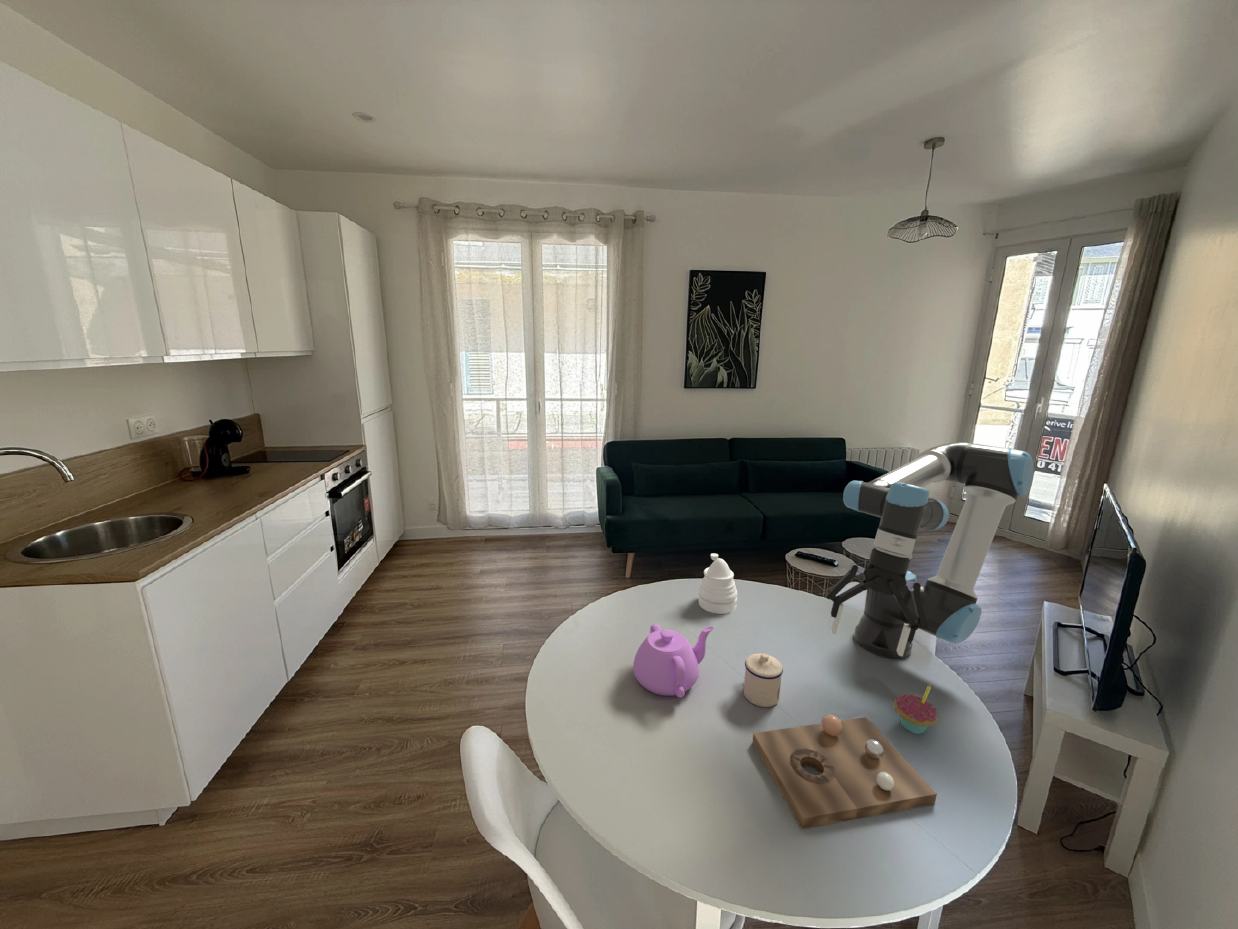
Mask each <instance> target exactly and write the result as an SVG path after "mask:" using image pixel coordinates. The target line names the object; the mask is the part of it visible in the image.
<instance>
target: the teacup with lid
mask: <svg viewBox="0 0 1238 929" xmlns="http://www.w3.org/2000/svg"><path fill="white" fill-rule="evenodd" d="M744 666H745V668H744V684H743V695H744V696H745V699H747V701H749V702H750V703H752V704H753V705H755V706H757V707H761V708H770V707H771V708H772V707H774V706H776V705H777V704H778V703H779V701H780V694H781V693H780V692H781V685H782V684H781V683H782V676H783V675H782V674H783V673H784V668H783V665H782V663H781V661H780V660H778V659H777V658H776V657H774V656H772V655H770V654H767V653H753V654H749V656H747V657H746V659H745V661H744Z"/></svg>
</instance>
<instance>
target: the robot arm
mask: <svg viewBox="0 0 1238 929" xmlns="http://www.w3.org/2000/svg"><path fill="white" fill-rule="evenodd" d="M1034 472H1035V471H1034V459H1033V458H1032V456H1031V454H1030V453H1029V452H1027V451H1024V450H1020V449H1014V448H1012V447H1008V448H1007V447H1001V446H993V445H988V444H979V443H973V442H967V441H966V442H965V441H963V442H962V441H961V442H950V443H945V444H941V445H936V446H933V447H930V448H928V449H926V450H924V451H922V452H920V453H918V454H917V455H916V457H915V458H914V460H911V461H909V462H907V463H905V464H903V465H901V466H899V467H897V468H896V469H893V470H891V471H889V472H887V473H885V474H883V475H881V476H879V477H877V478H875V479H873V480H870V481H868V482H866V481H865V482H864V481H863V480H852V481H850V482H848V484H847V485H846V486H845V487H844V490H843V497H842V501H843V504H844V505H845V507H846V508H849V509H852V510H854V511H857V512H858V513H864V514H867V515H870V516H873V517H877V518H880V521H879V525H878V528H877V531H876V534H875V539H874V541H873V546H875V547H873V548H872V549H871V552H870V554H869V555H870V556H869V560H868V563H867V565H866V567H862V566H860V565H857V563H856V562H854V563H853V562H852V563H851V564H850V567H849V569H848V571H847V572H846V573H845V574H844V575H843V576H842V577H841V578H840V579H839V580H838V581H837V582H836V583H835V584H834V585H833V586H832V587H831V588H830V589H829V590H828V591H827V592H826V596H827V599H828V600H831V602H833V603H832V606H831V611H830V616H831V617H832V618H834V620H833V622H832V626H831V634H834V635H837V631H838V628H839V624H840V620H841V617H842V614H843V610H844V605H843V603H844V602H846V601H849V600H850V599H852V598H854V597H856V596H857V595H858V594H861V593H862V592H864V591H866V596H865V601H864V602H865V603H864V608H863V609H864V610H863V615H862V616H861V617H860V620H859V622H858V624H857V625H855V628H854V634H853V639H854V641H855V642H856V644H858V645H859V646H860V647H861V648H862V649H863V650H865V651H867V652H869V653H871V654H873V655H877V656H878V657H883V658H886V659H887V658H888V659H905V658H907V657H908V656H910V655H911V653H912V649H913V642H914V637H915V635H916V631H918V630H921V631H923V632H926V633H928V634H929V635H933V636H934V637H935V638H938V639H941V640H944V641H947V642H949V643H952V644H960V643H963V642H964V641H966V640H967V639H968V638H969V637H970V636H971V635H972V633H974V631H975V629H976V628H977V626H978V624H979V622H980V620H981V616H982V612H983V611H982V608H981V607H980V606H979V604H977V602H978V596H977V594H976V592H975V591H974V589H975V586H976V584H977V580H978V578H979V577H980V574H981V573H980V572H981V571H982V568H983V566H984V563H985V560H986V557H987V555H988V553H989V550H990V547H991V545H992V543H993V540H994V537H995V535H996V532H997V529H998V527H999V524H1000V522H1001V519H1002V516H1003V514H1004V512H1005V510H1006V507H1008V506H1010V505H1012V504H1014V503H1016V501H1017V498H1018V496H1019V497H1025V496H1028V494H1029V492H1030V491H1031V489H1032V486H1033V485H1032V484H1033V480H1034ZM944 481H948V482H954V483H960V484H962V485H963V487H962V488H963V490H964V492H965V494H966V495H967V496H966V498H965V501H964V504H963V507H962V509H961V511H960V514H959V516H958V519H957V521H956V524H955V526H954V529H953V531H952V535H950V540H949V542H948V545H947V547H946V549H945V551H944V555H943V557H942V559H941V562H940V565H939V567H938V570H937V572H936V574H935V575H934V576H933V577H930V578H927V580H926V582H925V584H922V583H920V582H918V581H917V580H918V578H917V576H916V574H915V573H913V572H911V571H910V570H908V568H909V565H910V562H911V560H910V558H909V557H911V556H912V555H913V551H914V548H915V543H916V540H917V538H918V534H919V531H920V530H923V531H927V532H928V531H936V530H939V529H941V528H943V527H944V526H945V525H946V524H947V522H948V521H949V517H950V513H949V510H948V507H947V506H946V505H945V504H944V502H942V501H940V500H939V499H937V498H935V497H930V491H929V489H928V488H926V486H928V485H930V484H932V483H933V484H935V483H940V482H944ZM860 574H863V576H864V579H863V580H862V581H860V582H859V583H858V584H856V585H854V586H852V587H851V588H849V589H847V590H845V591H843V592H842V593H840V592H841V591H842V590H843V589H844V588H845V587H846V586H847V585H848V584H849V583H850V582H851V581H852V580H853V579H854V578H855V577H856V576H859V575H860Z"/></svg>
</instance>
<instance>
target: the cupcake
mask: <svg viewBox="0 0 1238 929" xmlns="http://www.w3.org/2000/svg"><path fill="white" fill-rule="evenodd" d="M931 686H932V683H930V684H929V685H927V687H926V689H925V691H924V694H923V696H920V695H917V694H911V693H910V694H909V693H904V694H899V695H898V696H897V697H895V700H894V701H893V707H894V710H895V711H896V712H897V713H898V715H899V717H900V723H901V725H902V727H903V728H904V729H906V730H907V731H909V732H910V733H913V734H924V732H925V731H926V730H927V728H928V727H929V726H934V725H935V724H936V723H937V721H938V711H937V709H936V707H935V706H934V705H933V704H932V703H931V701H929V700H927V698H928V697H929V694H930V691H931V688H932V687H931Z"/></svg>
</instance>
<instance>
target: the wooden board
mask: <svg viewBox="0 0 1238 929" xmlns="http://www.w3.org/2000/svg"><path fill="white" fill-rule="evenodd" d="M840 721H841V723H842V726H843V729H842V732H841V734H839V735H838V736H830V735H828V734H827V733H826V732H825V731H824V729H823V727H822V722H821V723H815V724H809V725H801V726H794V727H789V728H788V727H787V728H781V729H775V730H767V731H766V730H765V731H759V732H753V735H752V744H753V746H754V748H755V750H756V752H757V753H758V755H759V757H760V758H761V761H762V762H763V764H764V765H765V767H766V769H767V771H768V773H769V774H770V776H771V777H772V780H773V781H774V782H775V785H776V786H777V788H778V790H779V791H780V793H781V795H782V797H783V798H784V800H785V802H786V804H787V806H788V808H789V809H790V811H791V812H792V816H794V819H795V820H796V822H797V823H798V825H799V827H800V828H801V830H805V829H812V828H815V827H822V826H827V825H833V824H837V823H838V824H839V823H843V822H844V823H845V822H848V821H853V820H859V819H864V818H868V817H869V818H870V817H874V816H875V817H876V816H880V815H886V814H891V813H896V812H900V811H901V812H902V811H907V810H912V809H917V808H923V807H927V806H934V805H936V799H937V792H936V791H935V790H934V789H933V788H932V787H931V786H930V785H929V783H927V782H926V780H925V779H923V777H922V776H921V775H920V774H919V773H918V772H917V771H916V769H914V767H913V766H912V765H911V764H910V763H909V762H908V761H907V760H906V759H905V758H904V756H903V755H902V754H901V753H900V752H899V751H898V750H897V749H896V748H895V747H894V746H893V744H892V743H891V742H890V741H889V740H888V739H887V738H886V736H884V735H883V733H881V731H880V730H879V729H878V728H877V727H876V726H875V725H874V724H873V723H872V722H871V720H869V718H867V716H863V717H855V718H850V719H849V718H848V719H840ZM870 739H874V740H877V741H878V742H880V744H881V745H882V747H883V750H884V753H883V755H882V757H881V758H878V759H874V758H872V757H870V756H869V755H868V754H867V753H866V751H865V743H866V741H868V740H870ZM804 767H808V768H813V769H815V770H816V771H817V772H819V774H817V775H815V774H811V773H809V772H807V771H806V770H805V769H804ZM880 772H886V773H888V774H889V775H890V776H891V777H892V778H893V780H894V787H893V788H892V789H891V790H888V791H887V790H883V789H882V788H881V787H880V786H879V785H878V783H877V780H876V778H877V775H878V774H879V773H880Z"/></svg>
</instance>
